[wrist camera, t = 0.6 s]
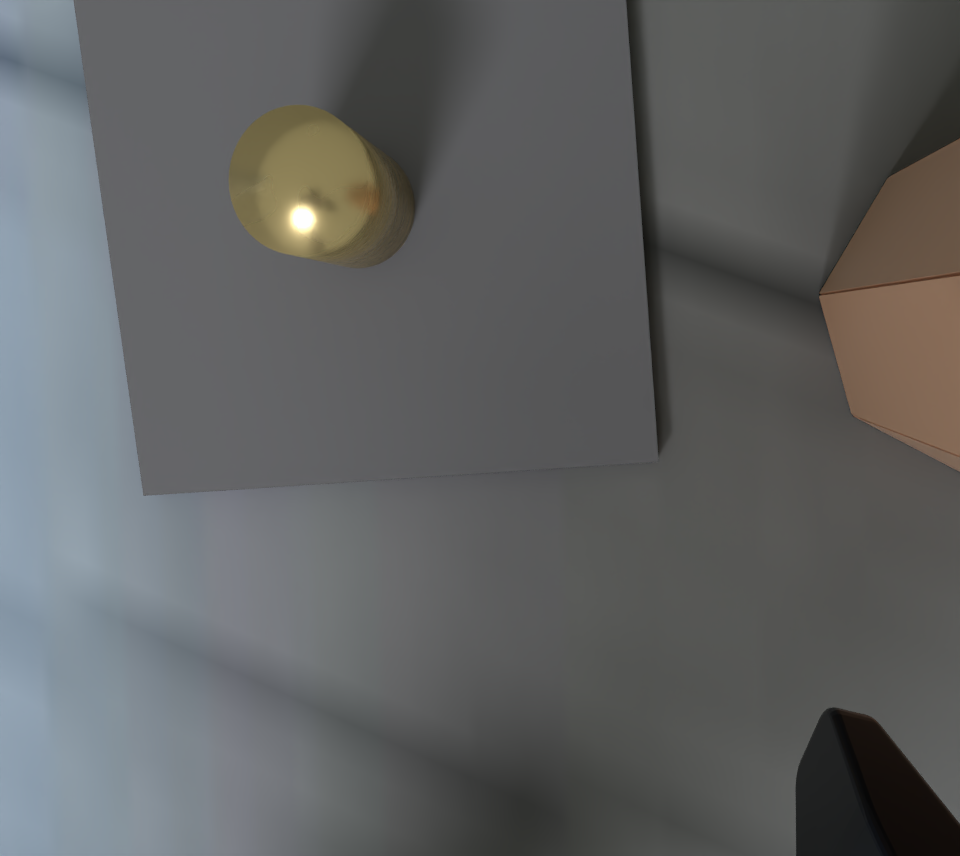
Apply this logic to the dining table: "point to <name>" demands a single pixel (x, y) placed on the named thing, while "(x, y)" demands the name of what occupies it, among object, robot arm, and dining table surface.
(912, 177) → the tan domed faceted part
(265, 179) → the brass weight
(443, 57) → the charcoal mat
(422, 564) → the dining table surface
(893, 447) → the dining table surface
